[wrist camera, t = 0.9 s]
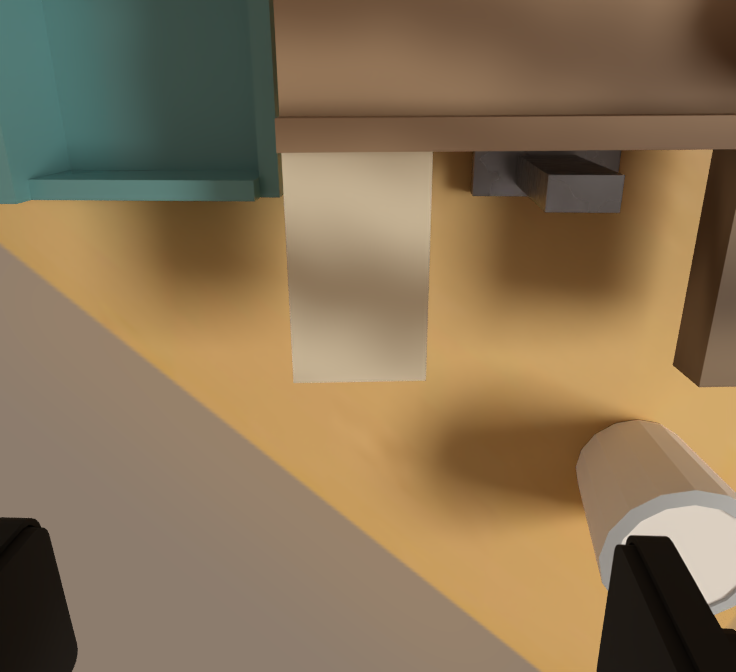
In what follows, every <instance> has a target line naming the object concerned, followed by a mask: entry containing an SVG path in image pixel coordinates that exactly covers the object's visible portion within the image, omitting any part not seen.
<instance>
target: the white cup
mask: <svg viewBox="0 0 736 672" xmlns="http://www.w3.org/2000/svg"><path fill="white" fill-rule="evenodd" d="M576 473H577V480H578V486H579V490H580V494H581V498H582V502H583V506H584V511H585V515H586V519H587V523H588V527H589V531H590V535H591V539H592V543H593V547H594V551H595V555H596V559H597V564H598V568H599V572H600V576H601V580H602V583H603V585H604V586H605V587H606V589H607V590H608V589H609V582H610V575H611V569H612V562H613V555H614V550H615V547H616V545H618V544H626V540H627V538H628V537H629V536H630V535H645V536H667V537H669V538H670V539H671V540H672V542H673V543H674V545H675V547H676V549H677V550H678V552H679V554H680V556H681V557H682V559H683V561H684V563H685V565H686V566H687V568H688V570H689V572H690V573H691V575H692V577H693V579H694V580H695V582H696V584H697V586H698V588H699V589H700V591H701V593H702V595H703V596H704V598H705V600H706V602H707V604H708V605H709V607H710V609H711V611H712V612H713V614H714V615H715V614H718V613H720V612H722V611H725V610H727V609H729V608H732V607H734V606H735V605H736V492H735V491H734V490H733V489H732V488H731V487H730V486H729V485H727V484H726V483H725V482H724V481H723V480H722V479H721V478H720V477H719V476H718V475H717V474H716V473H715V472H714V471H713V470H712V469H711V468H710V467H709V466H708V465H707V464H706V463H705V462H704V461H703V460H702V459H701V458H700V457H699V456H698V455H697V454H696V453H695V452H694V451H693V450H692V449H691V448H690V447H689V446H688V445H687V444H686V443H685V442H684V441H683V440H682V439H681V438H680V437H679V436H678V435H677V434H676V433H674V432H672V431H671V430H669V429H668V428H666V427H664V426H663V425H661V424H659V423H654V422H648V421H643V420H632V421H626V422H620V423H615V424H613V425H611V426H609V427H607V428H606V429H604V430H602V431H600V432H598V433H596V434H595V435H594V436H593V437H592V438H591V439H590V441H589V442H588V443H587V444H586V445H585V446H584V447H583V448H582V450H581V453H580V456H579V459H578V462H577V465H576Z"/></svg>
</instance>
